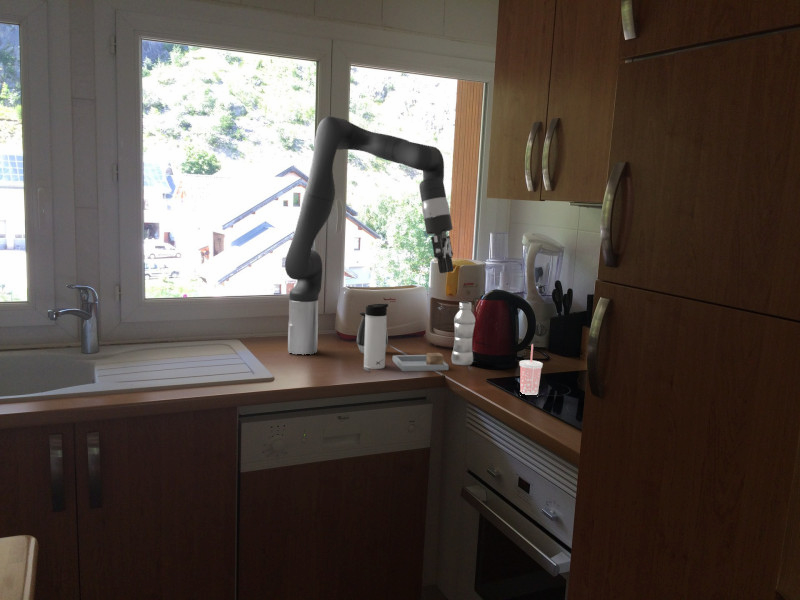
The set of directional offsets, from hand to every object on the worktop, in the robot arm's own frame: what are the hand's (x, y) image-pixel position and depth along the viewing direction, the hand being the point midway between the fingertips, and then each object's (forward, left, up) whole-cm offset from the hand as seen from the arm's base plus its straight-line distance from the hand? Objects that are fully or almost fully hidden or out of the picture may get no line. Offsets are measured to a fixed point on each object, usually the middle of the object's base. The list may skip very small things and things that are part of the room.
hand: (447, 272), depth 190 cm
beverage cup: (+18, -20, -31) cm, 41 cm away
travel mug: (-18, +10, -31) cm, 37 cm away
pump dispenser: (-15, +30, -31) cm, 45 cm away
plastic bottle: (+10, +12, -31) cm, 35 cm away
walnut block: (0, +7, -30) cm, 30 cm away
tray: (-4, +10, -31) cm, 33 cm away
